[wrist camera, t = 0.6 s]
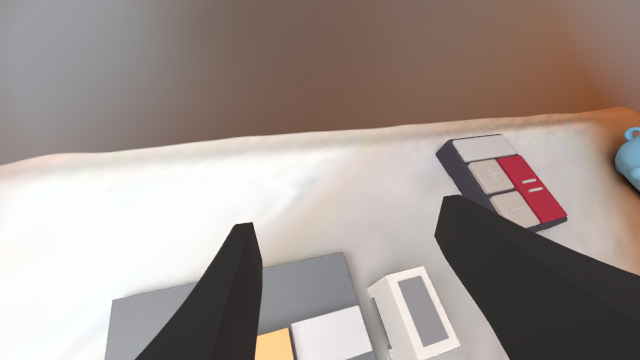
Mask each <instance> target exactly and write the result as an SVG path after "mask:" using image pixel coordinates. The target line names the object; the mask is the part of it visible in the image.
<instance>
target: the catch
mask: <svg viewBox="0 0 640 360" xmlns="http://www.w3.org/2000/svg"><path fill="white" fill-rule="evenodd" d="M255 360H294V359H293V353H292V348H291V342H290V337H289V331H288V328H285V329H281V330H278V331H274V332H271V333H267V334H264V335H260V336H257V343H256V352H255Z"/></svg>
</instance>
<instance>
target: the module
mask: <svg viewBox="0 0 640 360" xmlns="http://www.w3.org/2000/svg"><path fill="white" fill-rule="evenodd" d="M367 289H368V292H369V295H370V298H375V301H376V304H377V307H378V310H379V313H380V316H381V319H382V321H383V324H384V327H385V330H386V333H387V336H388V339H389V342H390V344H391V347H392V349H389V350H388V351H389V354H390V357H391V360H425V359H428V358H430V357H433V356H435V355H438V354H441V353H443V352H446V351H449V350H451V349H454V348H456V347H459V346H461V345H460V343H459V341H458V339H457V337H456V334H455V332H454V330H453V328H452V326H451V324H450V321H449V319H448V317H447V315H446V313H445V311H444V309H443V306H442V304H441V302H440V300H439V298H438V296H437V294H436V291H435V289H434V287H433V285H432V283H431V281H430V279H429V276H428V274H427V272H426V270H425V268H424V266H421V267H417V268H413V269H409V270H405V271H401V272H397V273H393V274H389V275H386V276H384V277H383V278H381V279H380V280H379V281H377V282H376V283H374V284H373V285H372V286H370V287H369V288H367Z"/></svg>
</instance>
